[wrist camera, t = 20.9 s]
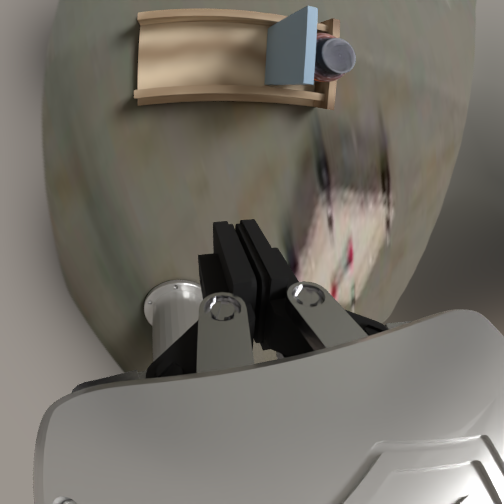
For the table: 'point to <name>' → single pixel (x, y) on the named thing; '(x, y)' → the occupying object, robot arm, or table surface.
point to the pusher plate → (292, 49)
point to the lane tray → (216, 59)
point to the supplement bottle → (332, 58)
